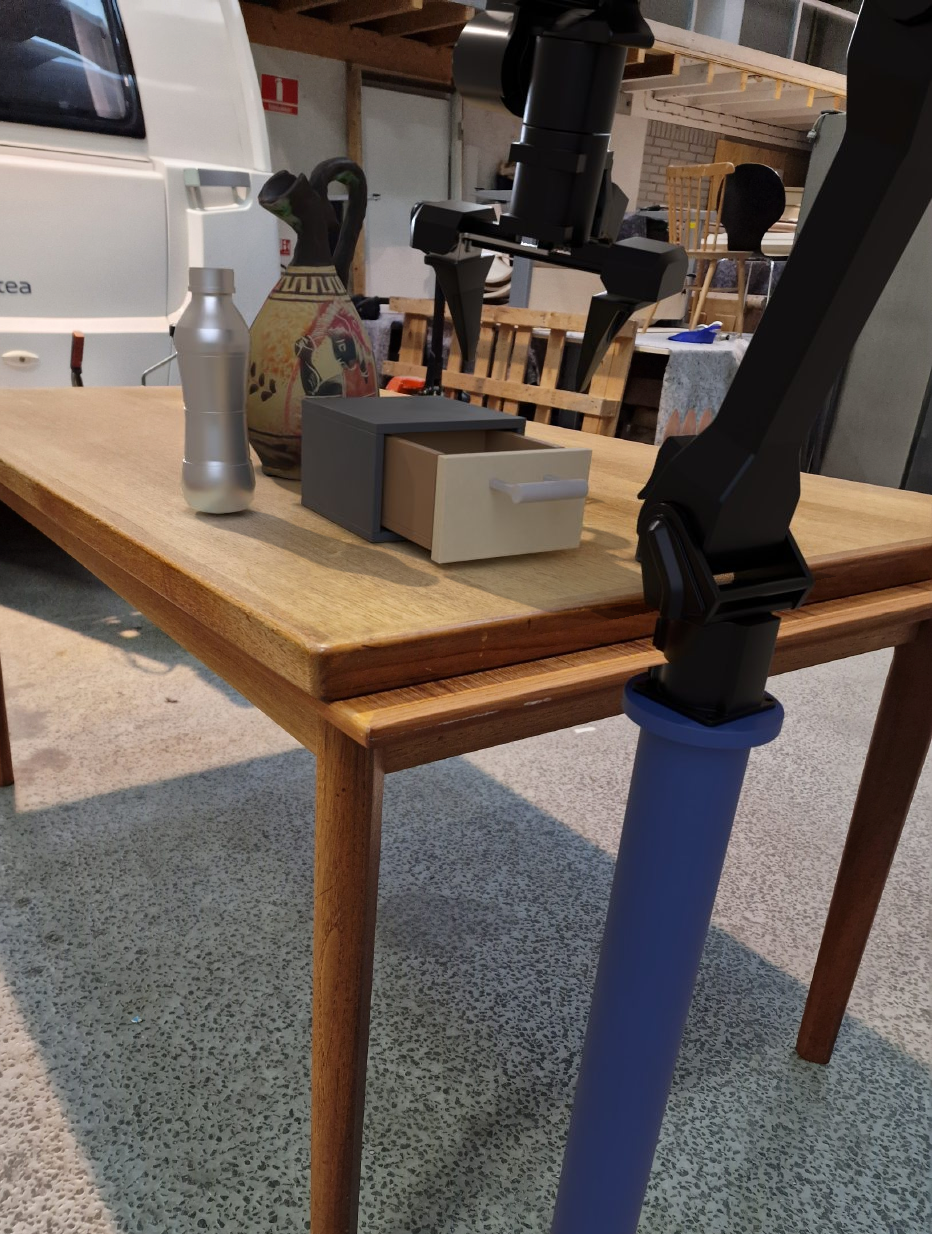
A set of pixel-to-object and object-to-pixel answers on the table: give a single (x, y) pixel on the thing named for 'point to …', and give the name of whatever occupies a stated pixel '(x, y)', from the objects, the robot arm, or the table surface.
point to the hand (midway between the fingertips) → (522, 375)
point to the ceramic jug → (308, 316)
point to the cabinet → (372, 450)
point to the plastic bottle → (214, 395)
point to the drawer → (483, 493)
